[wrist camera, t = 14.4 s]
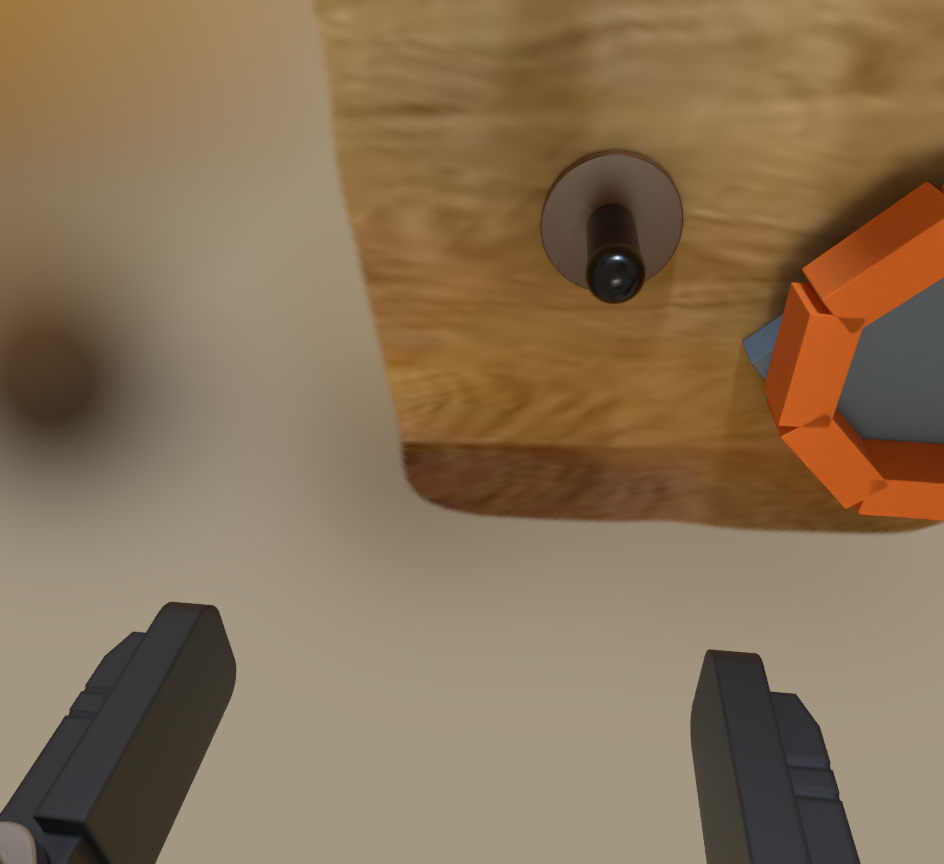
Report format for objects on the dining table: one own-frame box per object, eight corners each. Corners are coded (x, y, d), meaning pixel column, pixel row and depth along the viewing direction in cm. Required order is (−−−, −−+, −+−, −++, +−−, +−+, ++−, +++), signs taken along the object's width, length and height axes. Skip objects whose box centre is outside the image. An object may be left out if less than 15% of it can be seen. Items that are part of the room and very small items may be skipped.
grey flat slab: (1035, 142, 32) (1066, 157, 30) (1133, 310, 36) (1167, 333, 34) (741, 341, 39) (750, 363, 37) (848, 464, 43) (861, 490, 41)
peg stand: (621, 117, 34) (630, 163, 27) (710, 225, 36) (738, 291, 29) (513, 218, 37) (498, 280, 30) (601, 310, 39) (604, 387, 33)
